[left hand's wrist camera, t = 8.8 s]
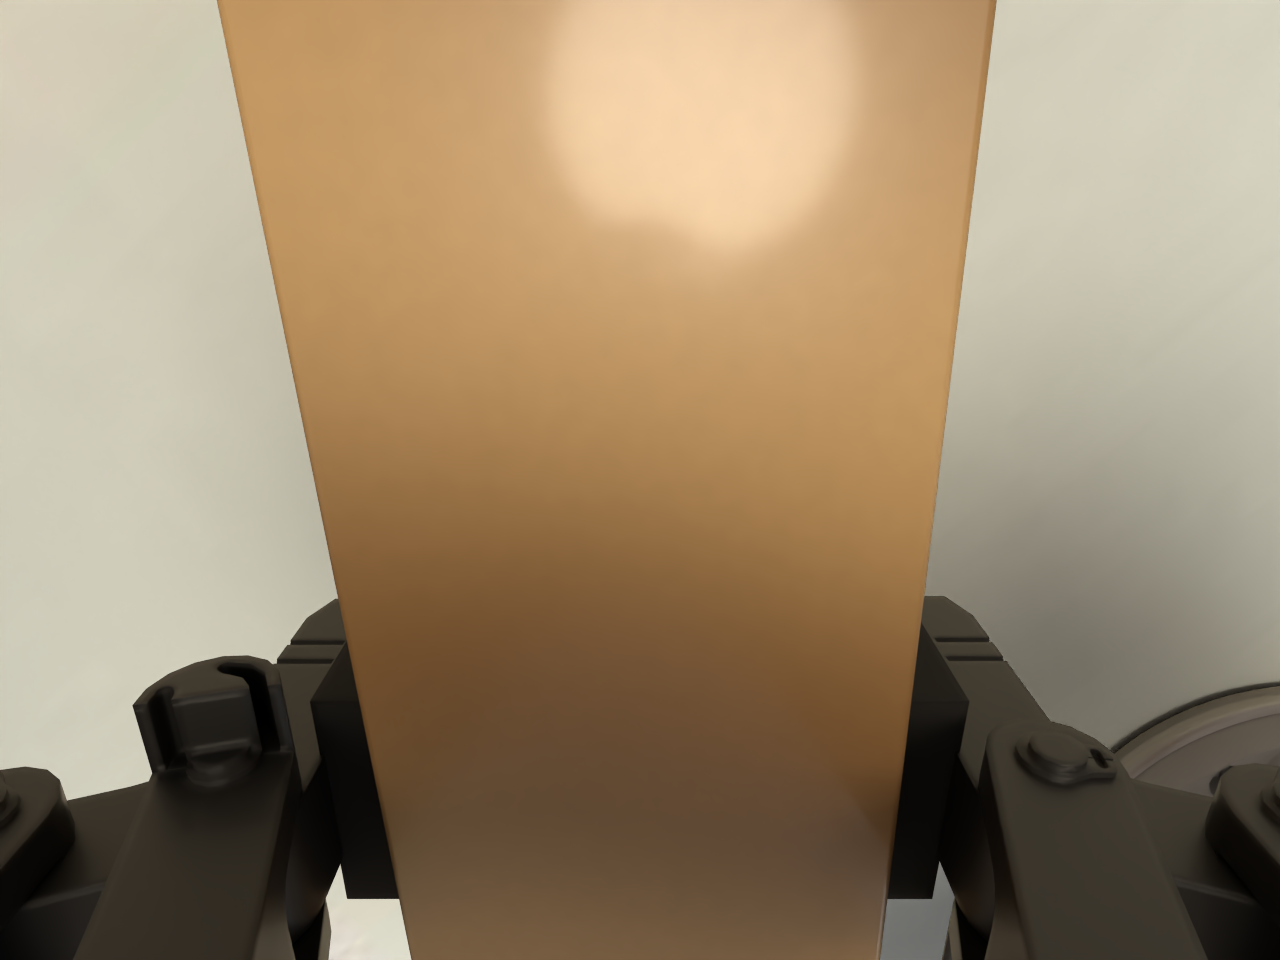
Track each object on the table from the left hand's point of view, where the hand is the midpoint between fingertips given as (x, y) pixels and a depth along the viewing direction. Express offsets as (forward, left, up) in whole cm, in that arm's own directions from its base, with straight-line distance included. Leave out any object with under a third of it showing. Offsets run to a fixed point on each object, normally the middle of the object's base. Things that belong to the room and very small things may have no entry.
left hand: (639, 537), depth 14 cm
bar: (+32, +7, -1) cm, 33 cm away
